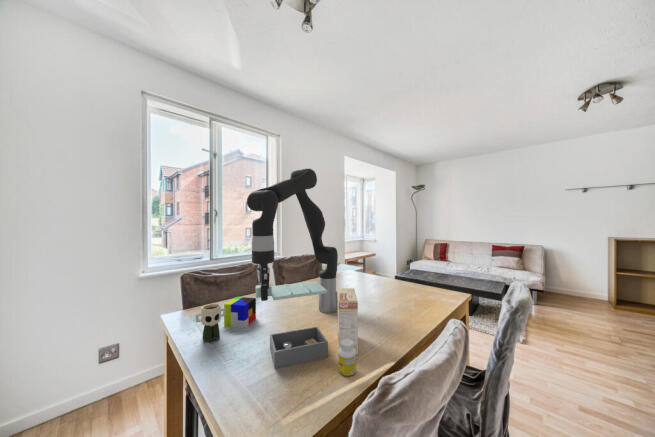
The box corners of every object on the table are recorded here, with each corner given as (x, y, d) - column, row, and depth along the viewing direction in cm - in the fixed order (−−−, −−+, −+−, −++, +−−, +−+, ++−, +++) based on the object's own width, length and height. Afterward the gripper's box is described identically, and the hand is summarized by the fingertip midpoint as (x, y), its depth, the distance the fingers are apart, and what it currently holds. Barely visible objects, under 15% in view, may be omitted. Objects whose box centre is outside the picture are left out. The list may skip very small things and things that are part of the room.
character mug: (197, 347, 88) (197, 312, 88) (194, 339, 93) (194, 306, 93) (227, 338, 94) (227, 306, 94) (223, 331, 100) (223, 301, 100)
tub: (317, 342, 91) (317, 326, 91) (327, 359, 80) (327, 341, 80) (269, 351, 85) (269, 334, 85) (274, 371, 74) (274, 352, 74)
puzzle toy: (244, 328, 103) (244, 305, 103) (224, 326, 105) (224, 304, 105) (255, 318, 113) (255, 298, 113) (237, 317, 115) (237, 296, 115)
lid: (315, 283, 95) (315, 275, 94) (327, 293, 83) (327, 284, 83) (254, 290, 86) (254, 282, 86) (257, 302, 74) (257, 292, 74)
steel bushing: (290, 349, 85) (290, 341, 85) (292, 353, 82) (292, 345, 82) (282, 351, 84) (282, 342, 84) (283, 355, 81) (283, 347, 81)
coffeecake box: (337, 335, 97) (337, 287, 97) (354, 335, 97) (354, 288, 97) (337, 356, 82) (337, 300, 82) (358, 356, 82) (358, 300, 82)
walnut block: (312, 348, 86) (312, 338, 86) (318, 352, 83) (317, 342, 83) (304, 351, 84) (304, 341, 84) (309, 355, 81) (309, 345, 81)
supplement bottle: (337, 368, 75) (337, 338, 75) (354, 367, 76) (354, 337, 76) (339, 380, 70) (339, 347, 70) (357, 379, 70) (357, 346, 70)
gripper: (277, 250, 76) (278, 304, 76) (271, 245, 89) (271, 291, 89) (253, 252, 73) (253, 307, 73) (250, 246, 86) (251, 293, 86)
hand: (263, 298), depth 81 cm, fingers closed on lid, 3 cm apart
